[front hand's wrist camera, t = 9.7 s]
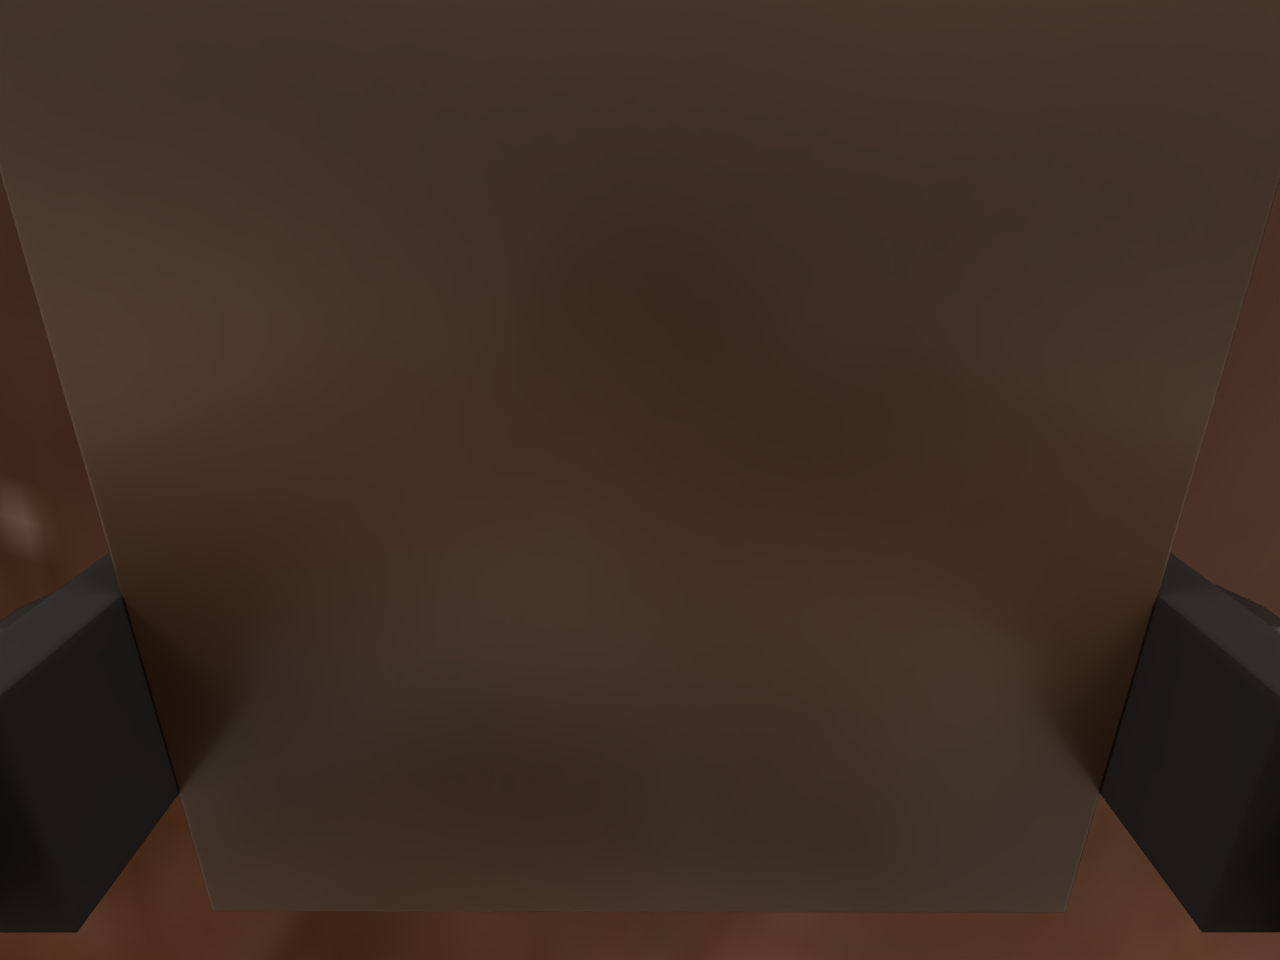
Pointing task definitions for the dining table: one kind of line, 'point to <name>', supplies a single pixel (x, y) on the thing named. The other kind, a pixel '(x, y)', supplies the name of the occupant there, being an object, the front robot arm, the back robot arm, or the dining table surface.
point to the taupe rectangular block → (640, 423)
